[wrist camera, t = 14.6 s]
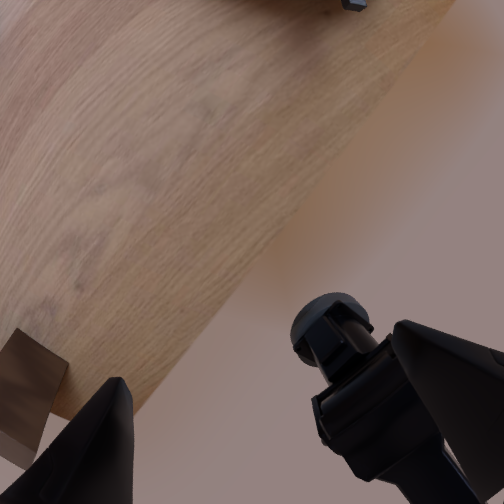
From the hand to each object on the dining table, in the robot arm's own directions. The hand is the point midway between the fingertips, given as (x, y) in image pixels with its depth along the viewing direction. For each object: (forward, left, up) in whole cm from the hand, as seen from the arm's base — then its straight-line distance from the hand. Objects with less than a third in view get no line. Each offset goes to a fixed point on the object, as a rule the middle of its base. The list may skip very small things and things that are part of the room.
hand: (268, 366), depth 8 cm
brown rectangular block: (+8, +21, -13) cm, 26 cm away
